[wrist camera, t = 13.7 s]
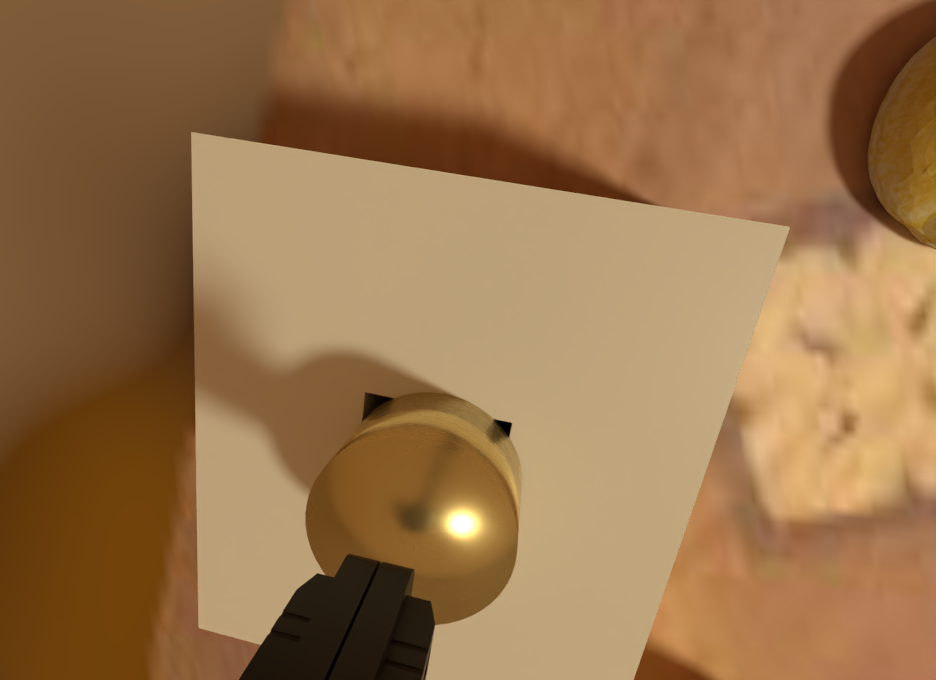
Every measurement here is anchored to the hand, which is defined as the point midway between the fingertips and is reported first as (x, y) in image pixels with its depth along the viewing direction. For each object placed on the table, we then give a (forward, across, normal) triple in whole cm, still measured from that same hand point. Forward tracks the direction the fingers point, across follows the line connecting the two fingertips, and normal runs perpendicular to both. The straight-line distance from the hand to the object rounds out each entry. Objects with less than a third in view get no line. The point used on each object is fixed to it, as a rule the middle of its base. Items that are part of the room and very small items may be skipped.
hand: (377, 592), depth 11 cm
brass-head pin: (+14, 0, 0) cm, 14 cm away
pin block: (+15, 0, 0) cm, 15 cm away
